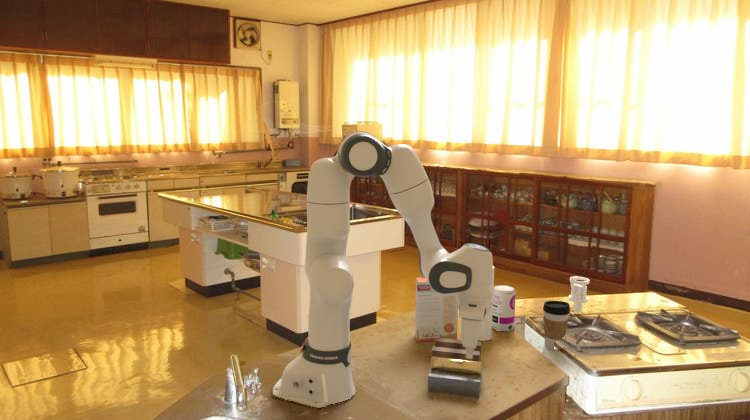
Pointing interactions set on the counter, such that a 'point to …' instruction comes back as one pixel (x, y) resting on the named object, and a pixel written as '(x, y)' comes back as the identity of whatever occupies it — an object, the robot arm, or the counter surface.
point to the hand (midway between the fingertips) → (470, 350)
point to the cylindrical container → (487, 318)
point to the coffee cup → (555, 321)
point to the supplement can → (503, 308)
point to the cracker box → (434, 313)
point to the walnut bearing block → (454, 349)
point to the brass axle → (456, 365)
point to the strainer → (578, 292)
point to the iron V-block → (454, 383)
